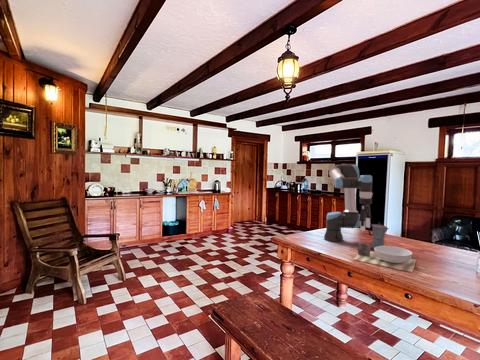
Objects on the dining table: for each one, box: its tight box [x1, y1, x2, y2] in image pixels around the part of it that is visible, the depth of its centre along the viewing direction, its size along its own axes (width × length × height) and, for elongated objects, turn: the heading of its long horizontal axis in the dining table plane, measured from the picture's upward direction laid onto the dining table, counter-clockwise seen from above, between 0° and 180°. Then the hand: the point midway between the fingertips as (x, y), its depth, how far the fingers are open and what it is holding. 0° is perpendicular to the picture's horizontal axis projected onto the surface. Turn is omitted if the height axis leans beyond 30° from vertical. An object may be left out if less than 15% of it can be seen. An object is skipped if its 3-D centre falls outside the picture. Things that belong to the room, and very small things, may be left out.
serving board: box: [352, 242, 417, 273], centre depth 164 cm, size 32×25×9 cm
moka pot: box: [366, 222, 389, 250], centre depth 190 cm, size 10×15×20 cm, turn 39°
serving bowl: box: [373, 245, 413, 263], centre depth 162 cm, size 21×21×7 cm
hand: (365, 229), depth 171 cm, fingers open, 13 cm apart
